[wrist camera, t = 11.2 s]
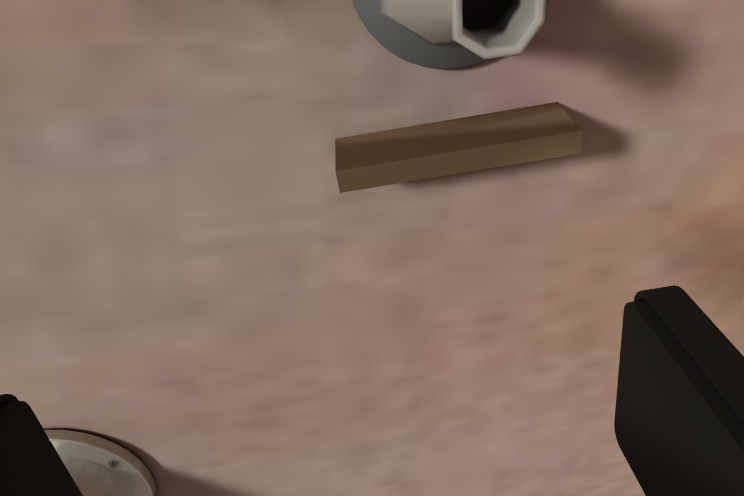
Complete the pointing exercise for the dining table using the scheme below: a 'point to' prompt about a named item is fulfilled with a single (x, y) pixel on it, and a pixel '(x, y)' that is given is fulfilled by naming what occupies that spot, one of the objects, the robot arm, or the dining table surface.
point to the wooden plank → (456, 146)
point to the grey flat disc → (412, 41)
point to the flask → (471, 23)
